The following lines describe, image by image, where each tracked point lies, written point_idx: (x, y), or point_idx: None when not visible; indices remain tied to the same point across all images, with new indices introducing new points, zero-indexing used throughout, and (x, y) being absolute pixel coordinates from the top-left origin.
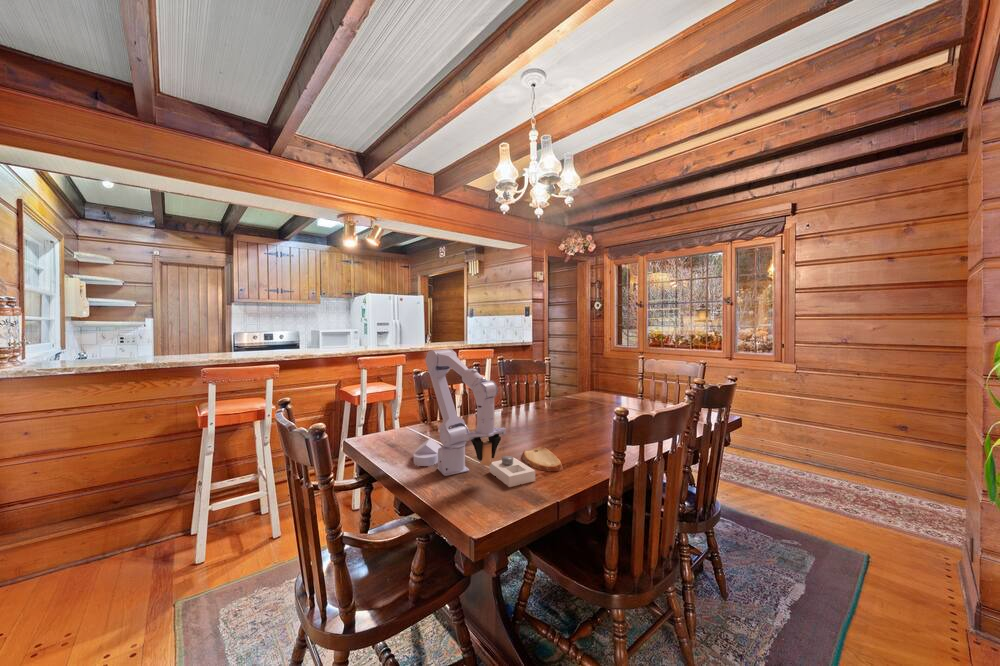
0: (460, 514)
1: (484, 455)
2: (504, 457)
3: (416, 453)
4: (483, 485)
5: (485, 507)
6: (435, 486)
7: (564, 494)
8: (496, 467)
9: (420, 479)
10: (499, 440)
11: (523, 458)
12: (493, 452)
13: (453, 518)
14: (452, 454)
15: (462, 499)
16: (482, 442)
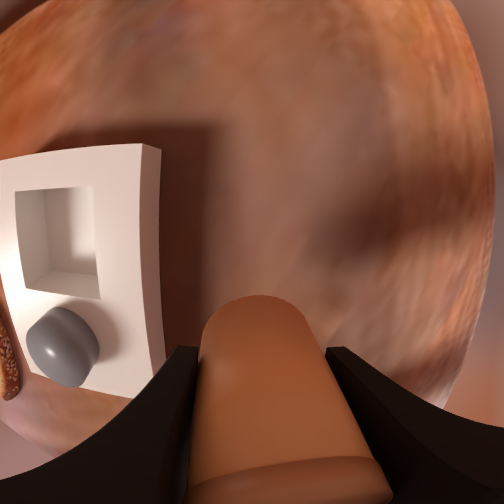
0: (462, 91)
1: (324, 369)
2: (69, 374)
3: None
4: (277, 251)
5: (383, 55)
6: (427, 337)
7: (39, 14)
8: (147, 333)
9: (417, 395)
10: (19, 494)
11: (13, 369)
12: (181, 383)
13: (478, 91)
14: None
15: (427, 177)
16: (499, 476)
